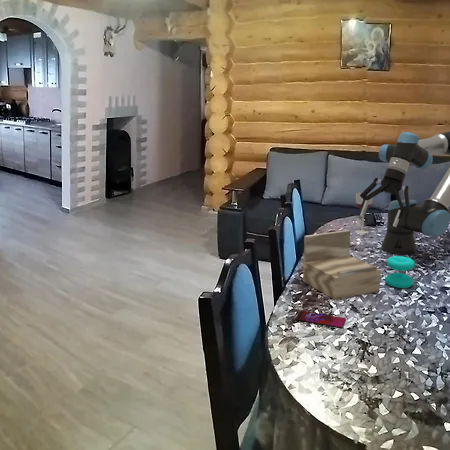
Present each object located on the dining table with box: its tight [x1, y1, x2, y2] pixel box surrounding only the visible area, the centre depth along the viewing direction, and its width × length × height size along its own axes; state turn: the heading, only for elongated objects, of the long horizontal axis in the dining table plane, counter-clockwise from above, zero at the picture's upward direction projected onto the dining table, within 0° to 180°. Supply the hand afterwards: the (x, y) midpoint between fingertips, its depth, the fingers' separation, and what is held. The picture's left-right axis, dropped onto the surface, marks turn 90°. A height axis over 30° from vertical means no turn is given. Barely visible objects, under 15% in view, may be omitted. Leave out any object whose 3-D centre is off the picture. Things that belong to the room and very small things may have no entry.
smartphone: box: [294, 310, 347, 329], centre depth 167 cm, size 8×1×15 cm
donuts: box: [384, 255, 416, 289], centre depth 196 cm, size 10×10×10 cm
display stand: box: [302, 229, 382, 300], centre depth 193 cm, size 20×20×18 cm
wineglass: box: [354, 191, 374, 235], centre depth 267 cm, size 8×9×20 cm
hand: (377, 221), depth 206 cm, fingers open, 13 cm apart
